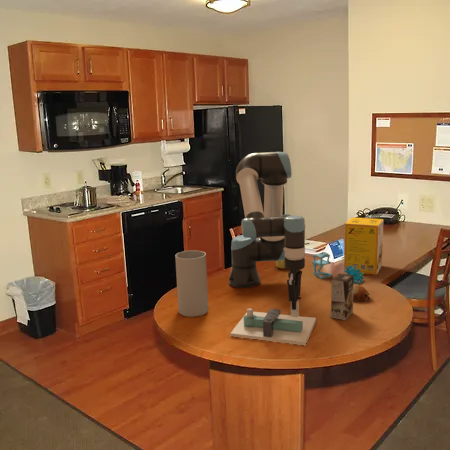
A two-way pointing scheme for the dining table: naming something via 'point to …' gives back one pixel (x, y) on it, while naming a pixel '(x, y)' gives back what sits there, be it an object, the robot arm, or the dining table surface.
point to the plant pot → (280, 263)
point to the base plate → (277, 330)
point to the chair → (321, 264)
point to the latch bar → (280, 324)
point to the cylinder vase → (192, 283)
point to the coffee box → (342, 296)
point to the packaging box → (363, 244)
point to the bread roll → (359, 293)
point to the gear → (355, 274)
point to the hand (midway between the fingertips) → (294, 316)
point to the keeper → (270, 322)
